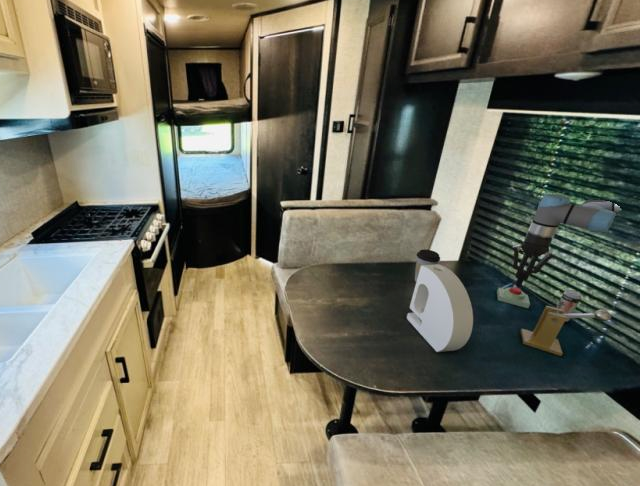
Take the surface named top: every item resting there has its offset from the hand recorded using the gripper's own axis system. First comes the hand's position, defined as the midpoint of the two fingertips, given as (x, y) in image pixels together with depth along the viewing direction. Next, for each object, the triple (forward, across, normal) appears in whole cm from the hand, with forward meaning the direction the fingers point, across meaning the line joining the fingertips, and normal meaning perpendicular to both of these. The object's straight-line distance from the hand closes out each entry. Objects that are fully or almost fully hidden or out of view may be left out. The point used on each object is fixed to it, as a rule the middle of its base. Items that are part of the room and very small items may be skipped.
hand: (517, 285), depth 131 cm
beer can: (+8, -15, +5) cm, 17 cm away
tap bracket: (+7, -6, +27) cm, 29 cm away
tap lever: (-5, -12, +27) cm, 30 cm away
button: (+4, 0, 0) cm, 4 cm away
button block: (+7, 0, 0) cm, 7 cm away
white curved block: (+8, +26, +45) cm, 52 cm away
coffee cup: (+8, +34, +6) cm, 35 cm away
